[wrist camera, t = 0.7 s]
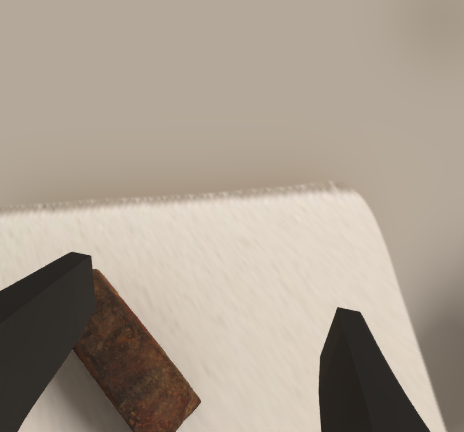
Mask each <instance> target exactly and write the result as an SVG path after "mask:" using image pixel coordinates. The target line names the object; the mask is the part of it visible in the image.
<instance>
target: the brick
mask: <svg viewBox="0 0 464 432" xmlns="http://www.w3.org/2000/svg"><path fill="white" fill-rule="evenodd" d="M92 270H93V281H94V292H95V303H96V308H95V310H94V312H93V314H92V316H91V318H90V320H89V322H88V324H87V326H86V327H85V329H84V331H83V333H82V335H81V337H80V338H79V340H78V341H77V343H76V344H75V346H74V347H73V350H74V351H75V353H76V354H77V355H78V357H79V358H80V359H81V361H82V362H83V364H84V365H85V366H86V368H87V369H88V371H89V372H90V374H91V375H92V377H93V378H94V379H95V380H96V381H97V383H98V384H99V386H100V387H101V389H102V390H103V391H104V392H105V394H106V395H107V397H108V398H109V400H110V401H111V402H112V403H113V405H114V406H115V407H116V409H117V410H118V412H119V413H120V414H121V415H122V416H123V418H124V419H125V421H126V422H127V424H128V425H129V426H130V428H131V430H132V431H133V432H176V430H177V429H178V428H179V427H180V426H181V424H182V423H183V421H184V420H185V419H186V418H188V416H190V415H191V414H192V413H193V411H194V410H195V409H196V408H197V407H198V406H199V404H200V403H201V400H200V399H199V397H198V396H197V394H196V393H195V392H194V391H193V389H192V388H191V386H190V385H189V383H188V382H187V381H186V379H185V378H184V377H183V375H182V374H181V372H180V371H179V370H178V369H177V367H176V366H175V365H174V364H173V362H172V361H171V360H170V359H169V357H168V356H167V355H166V353H165V352H164V350H163V349H162V348H161V346H160V345H159V344H158V343H157V341H156V340H155V339H154V338H153V337H152V335H151V334H150V333H149V332H148V330H147V329H146V328H145V326H144V325H143V324H142V323H141V321H140V320H139V319H138V317H137V316H136V315H135V314H134V313H133V312H132V310H131V309H130V308H129V307H128V305H127V304H126V303H125V302H124V300H123V299H122V298H121V297H120V296H119V294H118V292H117V291H116V290H115V289H114V288H113V286H112V285H111V284H110V283H109V281H108V280H107V279H106V278H105V276H104V275H103V274H102V273H101V272H100V271H99V270H97V269H95V270H94V269H92Z"/></svg>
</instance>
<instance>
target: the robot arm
mask: <svg viewBox="0 0 464 432" xmlns="http://www.w3.org/2000/svg"><path fill="white" fill-rule="evenodd" d="M95 308H96V303H95V292H94V281H93V270H92V259H91V256H90V255H85V254H80V253H76V252H70V253H68V254H66V255H64V256H63V257H61V258H59V259H57V260H55V261H53V262H52V263H50V264H48V265H46V266H45V267H43V268H41V269H39V270H37V271H36V272H34V273H32V274H30V275H29V276H27V277H25V278H23V279H21V280H20V281H18V282H16V283H14V284H12V285H10V286H9V287H7V288H5V289H3V290H1V291H0V432H18V430H19V428H20V426H21V425H22V423H23V421H24V420H25V418H26V416H27V415H28V413H29V412H30V410H31V409H32V407H33V405H34V404H35V403H36V401H37V400H38V398H39V397H40V395H41V394H42V392H43V391H44V390H45V388H46V387H47V385H48V384H49V382H50V381H51V379H52V378H53V377H54V375H55V374H56V372H57V371H58V369H59V368H60V366H61V365H62V364H63V362H64V361H65V359H66V358H67V356H68V355H69V353H70V352H71V350H72V349H73V347H74V346H75V344H76V343H77V341H78V340H79V338H80V337H81V335H82V333H83V331H84V329H85V327H86V326H87V324H88V322H89V320H90V318H91V316H92V314H93V312H94V310H95ZM319 405H320V420H321V432H430V430H429V429H428V427H427V426H426V425H425V423H424V422H423V420H422V419H421V417H420V416H419V414H418V412H417V411H416V409H415V408H414V406H413V405H412V403H411V402H410V400H409V399H408V397H407V395H406V394H405V392H404V390H403V389H402V387H401V385H400V384H399V382H398V380H397V379H396V377H395V375H394V374H393V372H392V370H391V368H390V367H389V365H388V363H387V361H386V360H385V358H384V356H383V354H382V352H381V350H380V349H379V347H378V345H377V343H376V341H375V339H374V337H373V335H372V333H371V331H370V330H369V328H368V326H367V324H366V322H365V320H364V318H363V316H362V314H361V313H360V312H358V311H353V310H349V309H344V308H339V307H337V310H336V313H335V316H334V319H333V322H332V324H331V327H330V330H329V333H328V336H327V339H326V341H325V344H324V347H323V350H322V353H321V356H320V371H319Z"/></svg>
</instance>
